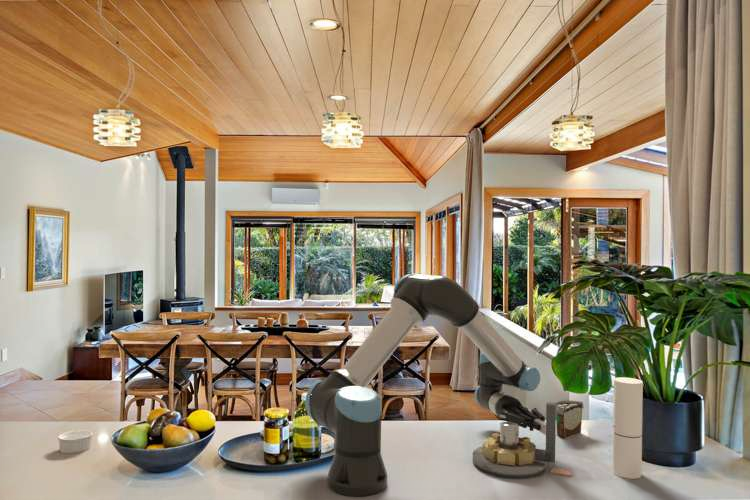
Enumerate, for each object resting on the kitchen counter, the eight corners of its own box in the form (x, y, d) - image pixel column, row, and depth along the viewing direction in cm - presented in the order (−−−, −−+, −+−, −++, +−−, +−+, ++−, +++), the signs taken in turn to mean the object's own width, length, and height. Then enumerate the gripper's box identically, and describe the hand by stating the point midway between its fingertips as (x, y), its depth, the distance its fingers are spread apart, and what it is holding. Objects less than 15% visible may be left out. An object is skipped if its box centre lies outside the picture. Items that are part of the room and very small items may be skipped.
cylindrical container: (635, 468, 154) (637, 377, 154) (645, 479, 147) (647, 384, 147) (608, 467, 155) (610, 376, 155) (617, 477, 148) (618, 383, 148)
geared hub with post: (479, 460, 152) (480, 403, 152) (487, 443, 165) (488, 391, 165) (554, 471, 146) (554, 411, 146) (555, 452, 159) (556, 397, 159)
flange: (492, 482, 144) (493, 439, 144) (461, 453, 164) (461, 416, 163) (561, 474, 149) (561, 433, 149) (523, 448, 169) (523, 411, 169)
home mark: (551, 473, 150) (551, 471, 150) (552, 469, 153) (552, 468, 153) (570, 476, 148) (570, 475, 148) (571, 473, 150) (571, 471, 150)
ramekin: (55, 448, 165) (56, 433, 165) (89, 441, 170) (89, 427, 170) (60, 457, 158) (61, 441, 158) (95, 450, 163) (95, 435, 163)
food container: (566, 427, 189) (566, 397, 189) (583, 432, 184) (583, 401, 184) (545, 435, 181) (545, 404, 181) (562, 440, 176) (562, 408, 176)
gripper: (487, 396, 175) (529, 419, 152) (523, 393, 179) (569, 415, 156) (487, 420, 175) (529, 447, 153) (523, 416, 179) (569, 442, 156)
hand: (549, 431), depth 154 cm, fingers closed
